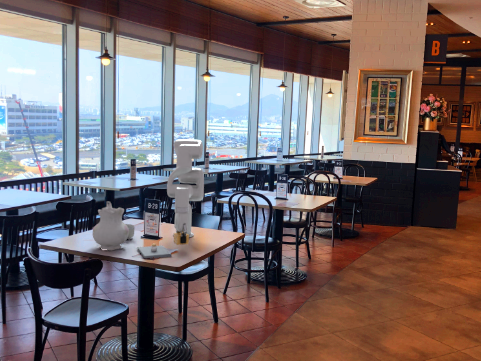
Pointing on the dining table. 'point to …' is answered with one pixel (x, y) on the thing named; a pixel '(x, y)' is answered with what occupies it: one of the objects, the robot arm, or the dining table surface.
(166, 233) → the dining table surface
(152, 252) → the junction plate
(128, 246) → the dining table surface
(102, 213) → the ceramic pitcher
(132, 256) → the dining table surface
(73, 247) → the dining table surface
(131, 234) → the teacup
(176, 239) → the yellow rounded block
